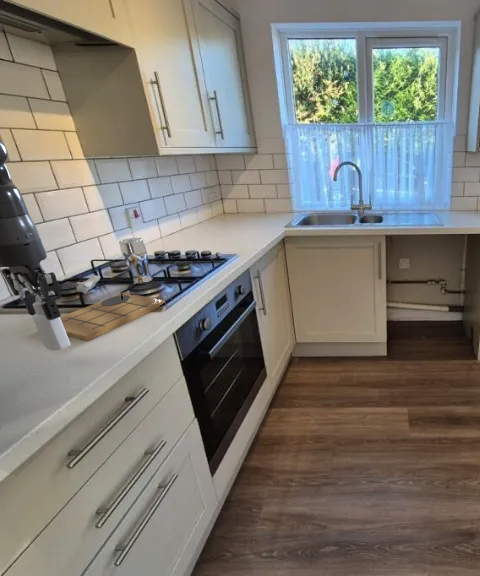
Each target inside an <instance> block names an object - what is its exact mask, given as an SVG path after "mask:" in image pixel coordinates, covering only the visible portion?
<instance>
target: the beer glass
mask: <svg viewBox="0 0 480 576" xmlns="http://www.w3.org/2000/svg"><path fill="white" fill-rule="evenodd" d="M118 244H119V248H120V252H121V256H122V258H123V260H124V263H125V264H126V266H127V268H128V270H129V271H130V274H131V278H132V285H134V284H136V283H142V282H150V281H152V282H154V278H153V275H152V274H151V271H150V267H149V266H150V265H149V256H148V252H147V251H148V250H147V248H146V245H145V242H144V240H143V238H142V237H129V238H124V239H121V240H119V241H118Z"/></svg>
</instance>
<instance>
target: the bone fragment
mask: <svg viewBox="0 0 480 576" xmlns="http://www.w3.org/2000/svg"><path fill="white" fill-rule="evenodd" d="M100 279H101V277H100V276H99V275H92V276H91V277H90V278H89V279H86V280H84V281H82V282H81V281H77V282H76V283H75V284H74V286H75V289H76V292H77V293H78V292H82V293H84V295H86V294H87V293H88V292H89V290H92V289H93V288H94V287H95V286H96V285H97V284H98V282H99V281H100Z"/></svg>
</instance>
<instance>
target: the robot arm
mask: <svg viewBox="0 0 480 576" xmlns="http://www.w3.org/2000/svg"><path fill="white" fill-rule="evenodd" d="M8 158H9V153H8V149H7V147H6V145H5V144H4V142H3V141H2V140H1V139H0V267H1V269H0V271H1V274H2V275H3V277H4V279H5V281H6V282H7V284H8V286H9V288H10V290H11V292H12V294H13V295H14V296H15V297H19V299H20V300H21V301H23V303H24V306H25V308H26V310H27V313H28V314H29V315H30V316H32V317H33V315H34V314H36V312H35V310H34V307H33V303H35V302H36V298H35V297H37V299H38V300H39V302H40V303H41V306H42V309H43V311H44V313H45V316H46V318H47V319H48V320H53V319H56V318H59V317H62V316H61V315H62V314H61V311H60V309H59V306H58V304H57V300H60V299H62V295H61V291H60V288H59V284H58V279H57V276H56V274H55V273H54V272H53V271H52V272H46V270H45V269H44V268H43V267H42V265H41V262H42V261H44V260H46V259H47V257H48V255H47V252H46V249H45V247H44V244H43V241H42V239H41V237H40V234H39V231H38V228H37V226H36V224H35V222H34V220H33V219H32V217H31V214H30V213H29V210H28V207H27V205H26V202H25V200H24V197H23V195H22V193H21V191H20V189H19V188H18V187H17V185H15V183H14V182H13V180H12V177H11V174H10V171H9V169H8V167H7V164H6V162H7V161H8Z"/></svg>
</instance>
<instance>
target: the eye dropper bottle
mask: <svg viewBox="0 0 480 576" xmlns="http://www.w3.org/2000/svg"><path fill="white" fill-rule="evenodd" d="M35 298H36V302H35V303H33V307H34V310H35V312H36V314H34V315H33V316H32V320H33V323H34V326H35V328H36V330H37V332H38V335H39V337H40V339H41V342H42V344H43V346H44V348H45V349H46V350H49V351H62V350H64V349H66V348H68V347H70V346H71V341H70V339H69V336H67V334H66V331H65V329H64V326H63V324H62V321H61V319H60V317H61V316H60V317H59V318H56V319H53V320H48V319H47V318H46V316H45V313H44V311H43V309H42V306H41V303H40V302H39V300H38V299H37V297H35Z"/></svg>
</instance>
